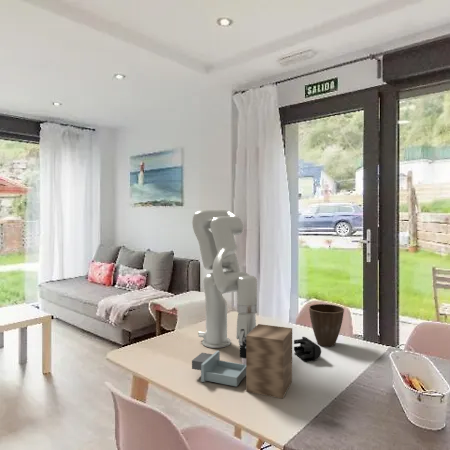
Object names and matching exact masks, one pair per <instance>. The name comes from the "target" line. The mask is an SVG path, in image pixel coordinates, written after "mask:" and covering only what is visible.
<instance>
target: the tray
mask: <svg viewBox="0 0 450 450" xmlns="http://www.w3.org/2000/svg"><path fill="white" fill-rule="evenodd" d="M220 353H221V352H220V350H216V351H215V352H213V353H207V352H201V353H199V354H198V355H197V356H195V358H193V359H192V360H191V369H192V370H197V371H200V382H202V383H205V382H206V381H207V382H212V383H217V384H221V385H227V386H231V387H238V386H239V385H240V383H241V382H242V381H243V379H245V377H246V365H244V364H242V363H238V362H233V361H225V360H220V359H221V358H220V357H221V356H220V355H221V354H220Z"/></svg>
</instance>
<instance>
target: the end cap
mask: <svg viewBox="0 0 450 450" xmlns="http://www.w3.org/2000/svg"><path fill="white" fill-rule="evenodd" d="M297 344H299V345H298V346H297ZM293 345H296V346H293V351H294V355H295V356H296V357H297V358H298V359H300V360H301V361H303V362H304V363H312V362H316V361H317V360H318V359H319V358H320V357H321V355H322V349H321V347H320V345H319V344H318V343H316V342H314V341H312V340H311V339H309V338H308V337H306V336H302V338H299V339H294V340H293Z"/></svg>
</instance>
